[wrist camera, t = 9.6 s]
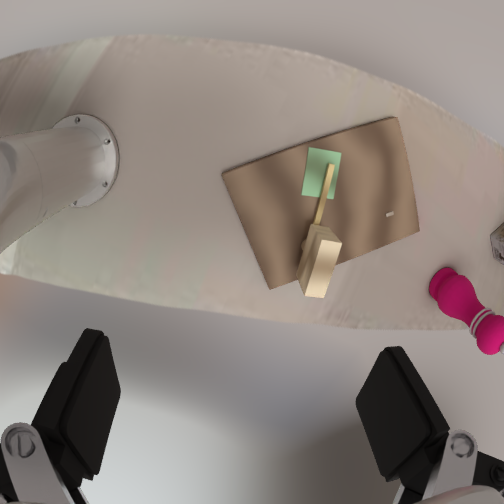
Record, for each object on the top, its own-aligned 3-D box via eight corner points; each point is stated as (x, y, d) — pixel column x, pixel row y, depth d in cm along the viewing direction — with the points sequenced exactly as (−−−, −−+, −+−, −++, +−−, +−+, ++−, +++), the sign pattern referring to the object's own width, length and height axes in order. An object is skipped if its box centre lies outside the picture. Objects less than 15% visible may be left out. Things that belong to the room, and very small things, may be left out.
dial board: (268, 284, 43) (269, 290, 41) (222, 173, 36) (221, 175, 35) (414, 227, 41) (420, 231, 39) (392, 116, 34) (398, 117, 32)
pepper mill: (448, 256, 43) (523, 322, 25) (460, 279, 46) (526, 343, 28) (420, 285, 45) (487, 361, 27) (435, 306, 48) (493, 377, 30)
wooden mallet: (310, 270, 40) (323, 298, 34) (293, 267, 40) (304, 295, 34) (339, 165, 35) (361, 176, 28) (321, 161, 34) (340, 170, 28)
